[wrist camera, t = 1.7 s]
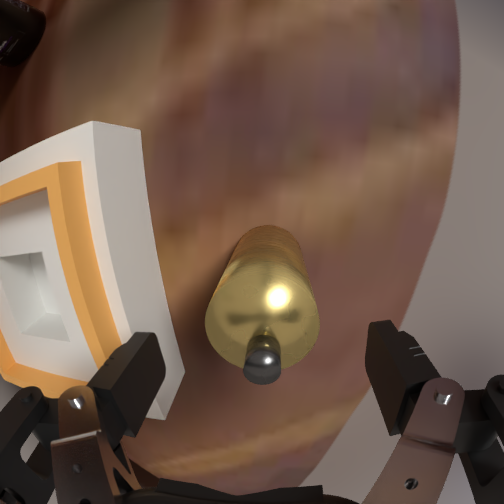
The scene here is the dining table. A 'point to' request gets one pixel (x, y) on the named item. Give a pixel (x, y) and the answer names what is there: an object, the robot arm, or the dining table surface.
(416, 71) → the dining table surface
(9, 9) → the supplement bottle
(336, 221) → the dining table surface
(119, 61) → the dining table surface
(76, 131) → the white box with knob
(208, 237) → the dining table surface
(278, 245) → the oil can
